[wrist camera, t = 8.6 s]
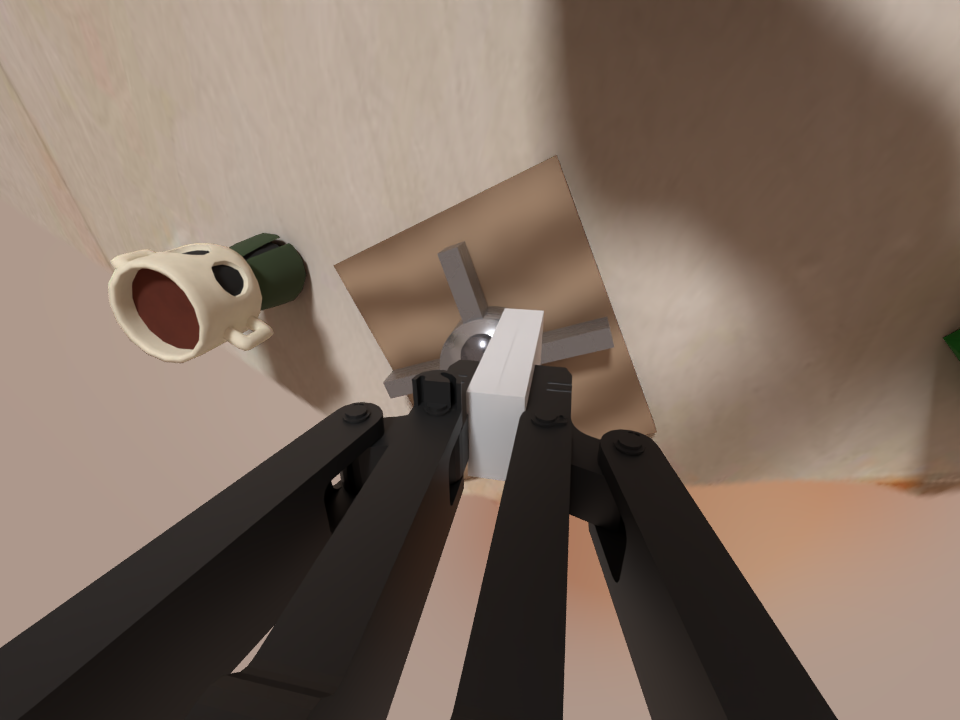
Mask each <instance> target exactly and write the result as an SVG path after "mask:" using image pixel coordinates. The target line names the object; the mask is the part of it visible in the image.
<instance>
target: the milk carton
mask: <svg viewBox="0 0 960 720" xmlns="http://www.w3.org/2000/svg"><path fill="white" fill-rule="evenodd" d="M943 339H944V340H945V342H946V343H947V344H948V346H949V347H950V349H951V350H952V351H953V353H954V354H955V356H956V357H957V358H958V360H959V361H960V329H959V330H957V331H955V332H953V333H951V334H949V335H947V336H945V337H943Z"/></svg>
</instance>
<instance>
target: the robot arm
mask: <svg viewBox="0 0 960 720" xmlns="http://www.w3.org/2000/svg"><path fill="white" fill-rule="evenodd" d="M543 318H544V311H540V310H524V309H509V308H505V309H504V311H503V314H502V316H501V318H500V320H499V322H498V324H497V326H496V329H495V331H494V333H493V335H492V337H491V339H490V342H489V344H488V346H487V348H486V350H485V352H484V354H483V357H482V359H481V361H471V360H458V361H457V362H455V363H453V364H452V365H450V366H449V368H448V370H447V371H446V370H430V371H425V372H422V373H420V374H417V375H416V376H415V377H414V378H412V388H413V401H414V407H413V408H412V410H411V411H410V413H409V415H405V416H398V417H386V418H383V411H382V410H381V408H380V407H379V406H377V405H375V404H372V403H365V402H360V403H359V402H358V403H353V404H350V405H346V406H344V407H342V408H340V409H338V410H336V411H335V412H333V413H332V414H331V415H329V416H328V417H326V418H325V419H324V420H322V421H321V422H319V423H318V424H316V425H315V426H314V427H312V428H311V429H309V430H308V431H307V432H305V433H304V434H303V435H301V436H299V437H298V438H297V439H295V440H294V441H293V442H291V443H290V444H288V445H287V446H285V447H284V448H283V449H281V450H280V451H278V452H277V453H275V454H274V455H273V456H271V457H270V458H268V459H267V460H266V461H264V462H263V463H261V464H260V465H259V466H257V467H256V468H254V469H253V470H252V471H250V472H249V473H247V474H246V475H244V476H243V477H241V478H240V479H239V480H237V481H236V482H234V483H233V484H232V485H230V486H229V487H227V488H226V489H225V490H223V491H222V492H220V493H219V494H218V495H216V496H215V497H213V498H212V499H210V500H209V501H208V502H206V503H205V504H203V505H202V506H200V507H199V508H198V509H196V510H195V511H193V512H192V513H191V514H189V515H188V516H186V517H185V518H184V519H182V520H181V521H179V522H178V523H176V524H175V525H174V526H172V527H171V528H169V529H168V530H166V531H165V532H164V533H162V534H161V535H159V536H158V537H157V538H155V539H154V540H152V541H151V542H149V543H148V544H147V545H145V546H144V547H142V548H141V549H140V550H138V551H137V552H136V553H134V554H133V555H131V556H130V557H129V558H127V559H125V560H124V561H123V562H121V563H120V564H118V565H117V566H116V567H115V568H113V569H111V570H110V571H109V572H107V573H106V574H104V575H103V576H101V577H100V578H99V579H97V580H96V581H94V582H93V583H91V584H90V585H89V586H87V587H86V588H84V589H83V590H82V591H80V592H79V593H77V594H76V595H75V596H73V597H72V598H70V599H69V600H67V601H66V602H65V603H63V604H62V605H60V606H59V607H58V608H56V609H55V610H53V611H52V612H50V613H49V614H48V615H46V616H45V617H43V618H42V619H41V620H39V621H38V622H36V623H35V624H34V625H32V626H31V627H29V628H28V629H26V630H25V631H24V632H22V633H21V634H19V635H18V636H17V637H15V638H14V639H12V640H11V641H10V642H8V643H7V644H5V645H4V646H3V647H1V648H0V720H386V718H387V715H388V712H389V709H390V706H391V703H392V700H393V698H394V694H395V692H396V688H397V685H398V683H399V680H400V677H401V674H402V671H403V668H404V664H405V662H406V659H407V656H408V653H409V650H410V647H411V644H412V641H413V638H414V635H415V632H416V629H417V626H418V623H419V620H420V617H421V614H422V611H423V608H424V605H425V602H426V599H427V596H428V593H429V590H430V587H431V584H432V581H433V578H434V575H435V572H436V569H437V566H438V563H439V560H440V557H441V554H442V551H443V549H444V545H445V542H446V539H447V536H448V533H449V531H450V528H451V524H452V522H453V519H454V516H455V512H456V509H457V507H458V504H459V501H460V498H461V495H462V492H463V489H464V471H465V468H466V465H467V462H468V476H473V477H480V478H487V479H495V480H502V481H505V485H504V489H503V494H502V498H501V502H500V507H499V511H498V516H497V520H496V524H495V529H494V533H493V538H492V542H491V547H490V551H489V555H488V560H487V564H486V569H485V573H484V577H483V582H482V586H481V591H480V595H479V599H478V604H477V608H476V613H475V617H474V622H473V626H472V630H471V635H470V639H469V644H468V648H467V652H466V657H465V661H464V666H463V671H462V675H461V679H460V683H459V688H458V692H457V697H456V701H455V705H454V709H453V713H452V716H451V719H450V720H563V694H564V663H565V630H566V600H567V599H566V598H567V568H568V537H569V514H570V515H573V516H575V517H577V518H580V519H582V520H585V521H587V522H588V523H589V532H590V535H591V537H592V540H593V543H594V546H595V550H596V553H597V556H598V559H599V562H600V565H601V567H602V571H603V574H604V577H605V580H606V583H607V586H608V589H609V592H610V595H611V598H612V601H613V604H614V607H615V610H616V613H617V616H618V619H619V622H620V625H621V628H622V631H623V634H624V637H625V640H626V643H627V646H628V649H629V652H630V655H631V658H632V661H633V664H634V667H635V670H636V673H637V676H638V679H639V682H640V686H641V689H642V692H643V694H644V697H645V700H646V704H647V706H648V710H649V713H650V715H651V719H652V720H838V719H837V718H836V716H835V715H834V713H833V712H832V710H831V708H830V707H829V705H828V704H827V702H826V701H825V699H824V698H823V696H822V695H821V693H820V692H819V690H818V689H817V687H816V686H815V684H814V683H813V681H812V680H811V678H810V676H809V675H808V673H807V672H806V670H805V669H804V667H803V666H802V665H801V663H800V661H799V660H798V658H797V657H796V655H795V654H794V652H793V651H792V649H791V648H790V646H789V645H788V643H787V642H786V640H785V639H784V637H783V635H782V634H781V632H780V631H779V629H778V628H777V626H776V625H775V623H774V622H773V620H772V619H771V617H770V616H769V614H768V613H767V611H766V610H765V608H764V606H763V605H762V603H761V602H760V601H759V599H758V597H757V596H756V594H755V593H754V591H753V590H752V588H751V587H750V585H749V584H748V582H747V581H746V579H745V578H744V576H743V575H742V573H741V571H740V570H739V568H738V567H737V565H736V564H735V562H734V561H733V560H732V558H731V556H730V555H729V553H728V552H727V550H726V549H725V547H724V546H723V544H722V543H721V541H720V539H719V538H718V536H717V535H716V533H715V532H714V530H713V529H712V527H711V526H710V524H709V523H708V521H707V520H706V518H705V517H704V515H703V514H702V512H701V511H700V509H699V507H698V506H697V504H696V503H695V501H694V500H693V498H692V497H691V495H690V494H689V492H688V491H687V489H686V488H685V486H684V485H683V483H682V482H681V480H680V479H679V477H678V476H677V474H676V472H675V471H674V469H673V468H672V466H671V465H670V463H669V462H668V460H667V459H666V457H665V456H664V454H663V453H662V451H661V450H660V448H659V447H658V445H657V444H656V443H655V442H654V441H653V440H652V439H651V438H649V437H647V436H646V435H644V434H642V433H639V432H635V431H632V430H623V429H618V430H611V431H609V432H607V433H605V434H603V436H602V437H601V439H597V438H594V437H591V436H589V435H586V434H584V433H583V432H581V431H579V430H578V429H577V428H576V427H575V426H574V424H573V423H572V420H571V400H572V375H571V373H570V372H569V371H568V369H567V368H565V367H554V366H542V365H541V349H542V333H543ZM339 473H340V476H341V480H340V481H339V482H338V483H337V484H335V485H334V486H333V485H332V482H331V480H332V479H333V478H334V477H336V476H337V475H338V474H339ZM273 626H274V627H273ZM272 627H273V629H272V630H271V632H270V633H269V635H268V636H267V638H266V640H265V641H264V643H263V644H262V646H261V648H260V649H259V651H258V652H257V654H256V655H255V657H254V658H253V660H252V661H251V662H250V663H249V665H248V666H247V667H246V668H245V669H243V670H242V671H241V672H237V673H232V674H230V673H231V672H232V671H233V670H234V669H235V668H236V667H237V666H238V664H239V663H240V662H241V661H242V660H243V659H244V658H245V657H246V656H247V655H248V653H249V652H250V651H251V650H252V649H253V648H254V647H255V646H256V645H257V644H258V643H259V641H260V640H261V639H262V638H263V637H264V636H265V635H266V634H267V633H268V632H269V630H270V629H271V628H272Z"/></svg>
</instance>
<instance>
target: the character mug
mask: <svg viewBox="0 0 960 720" xmlns="http://www.w3.org/2000/svg"><path fill="white" fill-rule="evenodd" d="M277 238H280V237H279V236H278V235H274V234H267V233H262V234H259V235H256V236H254V237H251V238H249V239H246V240H244V241H241V242H239V243H237V244H235V245H233V246H231V247H229V248H228V247H224V246H220V245H216V244H210V243H195V244H189V245H184V246H181V247H178V248H176V249H172V250H168V251H165V252H154V251H152V250H139V251H135V252H130V253H126V254H121V255H118V256H116V257H115V258H113V259H112V260H111V261H110V262H111V264H112V265H113V267H114V268H115V269H116V270H115V271H114V273H113V275H112V277H111V279H110V281H109V283H108V292H109V304H110V306H111V309H112V311H113V314H114V316H115V319H116V321H117V323H118V324H119V326H120V327H121V328H122V330H123V331H124V332H125V334H126V335H127V336H128V338H129V339H130V340H131V341H132V342H133V343H135V344H136V345H137V346H138V347H139V348H140V349H142V350H143V351H144V352H145V353H146V354H148V355H150V356H153V357H155V358H157V359H160V360H162V361H164V362H173V363H184V362H186V361H189V360H191V359H193V358H196V357H198V356H200V355H203V354H205V353H206V352H208V351H210V350H212V349H214V348H216V347H217V346H219V345H221V344H223V343H225V342H227V341H228V342H230V343H231V344H233V345H234V346H236V347H237V348H239V349H242V350H244V351H247V350H251V349H252V348H254V347H256V346H257V345H259V344H261V343H262V342H264V341H266V340H267V339H269V338H270V337H271V336H272V335H273V329H272V328H271V327H270V326H269V325H267V324H266V323H264V322H263V321H261V320H260V319H258V316H259V314H260V311H261V310H264V309H268V308H271V307H275V306H278V305H281V304H284V303H287V302H290V301H292V300H294V299H295V298H296V297H297V296H298V295H299V293H300V292H301V291H302V289H303V285H304V281H305V277H306V273H305V269H304V265H303V261H302V258H301V257H300V255H299V254H298V253H297V251H296V250H295V248H294V247H293V245H291V244H289V243H288V244H285V245H283V246H280V247H279V246H278V245H276V244H273V243H270V242H271V241H273V240H275V239H277ZM249 329H251V330H252V331H254V332H253V333H251V334H249V335H244V334H242V333H243V332H245V331H247V330H249Z"/></svg>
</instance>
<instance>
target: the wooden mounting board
mask: <svg viewBox="0 0 960 720" xmlns="http://www.w3.org/2000/svg"><path fill="white" fill-rule="evenodd" d="M463 241H465V243H466V246H467V248H468V251H469V254H470V257H471V260H472V263H473V266H474V268H475V271H476V274H477V277H478V280H479V283H480V285H481V288H482V291H483V294H484V297H485V300H486V302H487V305H488V306H500V307H506V308H509V309H524V310H540V311H544V318H543V332H547V331H551V330H555V329H559V328H563V327H567V326H571V325H575V324H579V323H583V322H587V321H591V320H595V319H599V318H603V317H608V321H609V325H610V329H611V333H612V338H613V343H614V348H609V349H605V350H601V351H596V352H592V353H588V354H583V355H579V356H574V357H570V358H566V359H561V360H557V361H553V362H548V363H544V364H542V366H554V367H565V368H567V369H568V371H569V372H570V373H571V375H572V400H571V420H572V423H573V424H574V426H575V427H576V428H577V429H578V430H579V431H581V432H583V433H584V434H586V435H589V436H591V437H594V438H597V439H601V437H602V436H603V434H605V433H607V432H609V431H611V430H618V429H623V430H632V431H635V432H639V433H642V434H644V435H647V434H651V433H656V432H657V431H656V428H655V424H654V421H653V419H652V416H651V413H650V410H649V408H648V405H647V402H646V399H645V397H644V394H643V391H642V388H641V386H640V383H639V380H638V377H637V375H636V372H635V369H634V366H633V364H632V361H631V358H630V355H629V353H628V350H627V347H626V344H625V342H624V339H623V336H622V333H621V330H620V328H619V325H618V322H617V319H616V317H615V314H614V311H613V308H612V306H611V303H610V300H609V297H608V295H607V292H606V289H605V286H604V284H603V281H602V278H601V275H600V273H599V270H598V267H597V264H596V262H595V259H594V256H593V253H592V251H591V248H590V245H589V242H588V240H587V237H586V234H585V231H584V229H583V226H582V223H581V220H580V218H579V215H578V212H577V209H576V207H575V204H574V201H573V198H572V196H571V193H570V190H569V187H568V185H567V182H566V179H565V176H564V174H563V171H562V168H561V165H560V163H559V160H558V157H557V155H556V156H554V157H552V158H550V159H547V160H545V161H543V162H541V163H539V164H537V165H535V166H533V167H531V168H529V169H527V170H525V171H523V172H521V173H519V174H517V175H515V176H513V177H511V178H509V179H507V180H505V181H503V182H501V183H499V184H497V185H495V186H493V187H491V188H489V189H487V190H485V191H483V192H481V193H479V194H477V195H475V196H473V197H471V198H469V199H467V200H465V201H463V202H461V203H459V204H457V205H455V206H453V207H451V208H449V209H447V210H445V211H443V212H441V213H439V214H437V215H434V216H432V217H430V218H428V219H426V220H424V221H422V222H420V223H418V224H416V225H414V226H412V227H410V228H408V229H406V230H404V231H402V232H400V233H398V234H396V235H394V236H392V237H390V238H388V239H386V240H384V241H382V242H380V243H378V244H376V245H374V246H372V247H370V248H368V249H366V250H364V251H362V252H360V253H358V254H356V255H354V256H352V257H350V258H348V259H346V260H344V261H342V262H340V263H338V264H336V265H334V267H335V269H336V271H337V272H338V274H339V276H340V278H341V279H342V281H343V283H344V285H345V286H346V288H347V290H348V292H349V293H350V295H351V297H352V299H353V300H354V302H355V304H356V306H357V308H358V309H359V311H360V313H361V315H362V316H363V318H364V320H365V322H366V323H367V325H368V327H369V329H370V330H371V332H372V334H373V336H374V337H375V339H376V341H377V343H378V344H379V346H380V348H381V350H382V351H383V353H384V355H385V357H386V359H387V360H388V362H389V364H390V366H391V367H392V369H393V370H396V369H400V368H404V367H408V366H412V365H416V364H420V363H424V362H428V361H432V360H436V359H440V354H441V350H442V348H443V345H444V343H445V342H446V340H447V338H448V337H449V335H450V334H451V333H452V331H453V330H454V328H455V327H456V325H457V324H458V323H459V321H460V320H461V319H462V318H461V316H460V313H459V310H458V308H457V305H456V303H455V300H454V297H453V295H452V292H451V289H450V287H449V284H448V281H447V279H446V276H445V273H444V271H443V268H442V265H441V263H440V260H439V258H438V255H437V254H438V253H439V252H440V251H442V250H443V249H444V248H446V247H449V246H452V245H455V244H458V243H461V242H463ZM408 397H409V399H410V401H411V402H412V404H413V406H414V401H413V393H412V394H408ZM472 477H473V476H468V462H467V465H466V468H465V471H464V479H468V478H472Z"/></svg>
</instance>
